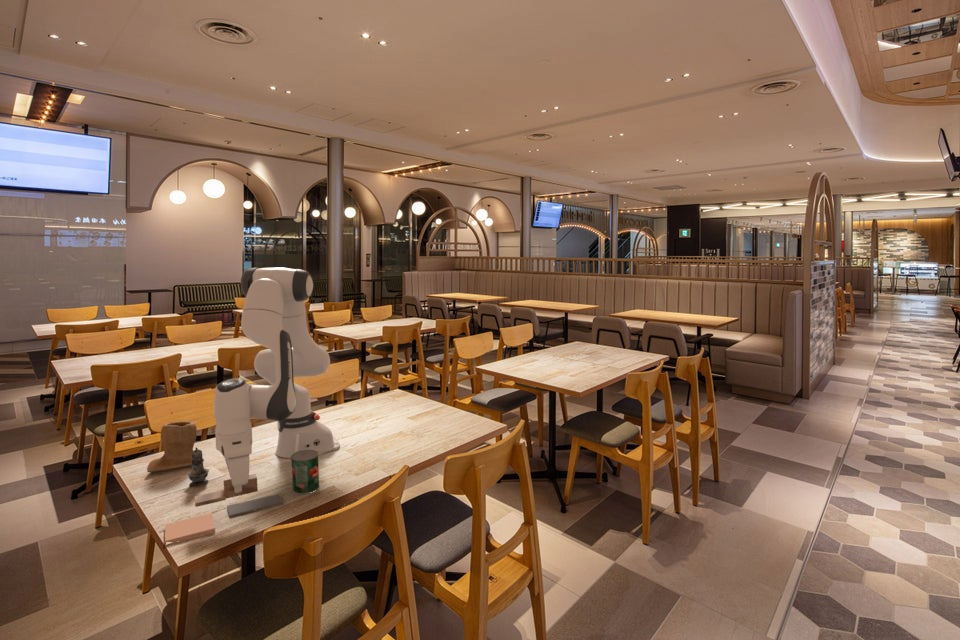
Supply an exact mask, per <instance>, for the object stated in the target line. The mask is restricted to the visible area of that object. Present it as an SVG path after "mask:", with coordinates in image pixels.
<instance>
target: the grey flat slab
mask: <svg viewBox="0 0 960 640" xmlns="http://www.w3.org/2000/svg"><path fill="white" fill-rule="evenodd" d="M280 504H281V505H284V502H283V499H282V496H281V495H280V493H275V494H271V495H268V496H263V497H258V498H254V499H251V500H246V501H243V502H238V503H237V502H236V503H235V504H230V505H227V513H228V516H229V518H233V517H236V516H240V515H244V514H249V513H253V512H256V511H255V510H257V511H260V509H261V510H264V509H263V508H265V509H268V507H269V508H272V506H273V507H277V506H280ZM276 505H277V506H276ZM252 511H253V512H252Z"/></svg>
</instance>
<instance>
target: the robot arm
mask: <svg viewBox="0 0 960 640" xmlns="http://www.w3.org/2000/svg"><path fill="white" fill-rule="evenodd" d="M313 289H314V282H313V276H312V275H311V274H310V273H309V271H307V270H304V269H299V268H296V269H295V268H288V267H262V268H261V267H251V268H248V269H246V270H244V272H243V273H242V275H241V278H240V290H241V293H242V295H244V297H245V299H244V303H243V308H242V312H241V313H242V314H241V318H240V319H241V320H240V327H241V332H242V333H243V334H244V335H245V337H246V338H247V339H248V340H250V341H252V343H253V342H254V343H255V344H258V345H259V346H262V347H265V348H266V349H262V350H259V352H258V353H257V354H256V355H255V357H254V361H253V362H254V363H253V367H254V370H255V372H256V374H257V375H258V376H259V377H261V378H262V379H264V380H266V382H268V383H269V384H254V383H253V384H250V383H247V381H246V380H245V379H242V378H230V379H226V380H223V381H221V382H220V383H218V384H217V385H216V386H215V389H214V396H213V418H214V419H215V423H216V426H215V429H214V431H215V433H214V435H215V449H216V450H217V451H219V452H220V453H221V455H222V456H223V458H224V461H225V464H226V467H227V470H228V474H229V477H230V479H231V481H232V485H233V487H234V491H235V493H238V492H241V491H242V485H246V484H247V483H248V480H249V475H250V455H251V454H252V453H253V449H252V445H253V429H252V428H253V427H252V423H251V420H250V419H252V420H258V419H259V420H271V421H277V424H276V425H277V431H278V439H277V446H276V450H275V455H276V456H278V457H280V458H283V459H291V456H292V454H294V453H295V452H298V451H302V450H315V451H317V452H318V454H319V455H322V454H321V453H323V454H325V453H324V452H326V453H328V452H327V451H329V452H332V451H331V450H333V451H336V450H338V449H339V448H340V447H339V446H341V445H340V441H339V440H338V439H337V438H336V437H334V435H333V432H332V431H331V429H330V427H328V426H327V425H326V424H324V423H322V422H320V419H321V415H319V414H318V413H316V412H315V411H313V410H311V408H312V407H311V393H310V391H309V390H308V389H307V387H304V386H302V385H300V384H297V383H296V382H295V381H294V380H295V379H294V378H310V377H311V378H313V377H317V376H321V375H324V374H326V372H328V370H329V368H330V365H331V358H330V354H329V353H328V351H327V349H325V348H323V347H322V346H320V345H319V344H317V343H316V342H315V340H314V339H313V338H312V336H311V334H310V333H309V328H308V323H307V313H306V304H305V303H306V302H305V301H306V300H309V298H310V297H311V296H312V293H313ZM335 449H336V450H335Z"/></svg>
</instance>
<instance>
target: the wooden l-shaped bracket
mask: <svg viewBox="0 0 960 640" xmlns="http://www.w3.org/2000/svg"><path fill="white" fill-rule="evenodd" d="M256 492H259V491H258V477H257V475H256V473H252V474H249V480H248V483H247V484H246V485H242V491H241V492H238V493H235V491H234V487H233V485H232V481H231V478H230V479H224V480H223V489H220V490H217V491H213V492H209V493H204V494H199V495H194V505H195V506H194V507H195V508H198V507H203V506H205V505H206V506H207V505H210V504H214V503H219V502H223V501H226V499H230V498H235V497H239V496H243V495H247V494H252V493H253V494H254V493H256Z"/></svg>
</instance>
